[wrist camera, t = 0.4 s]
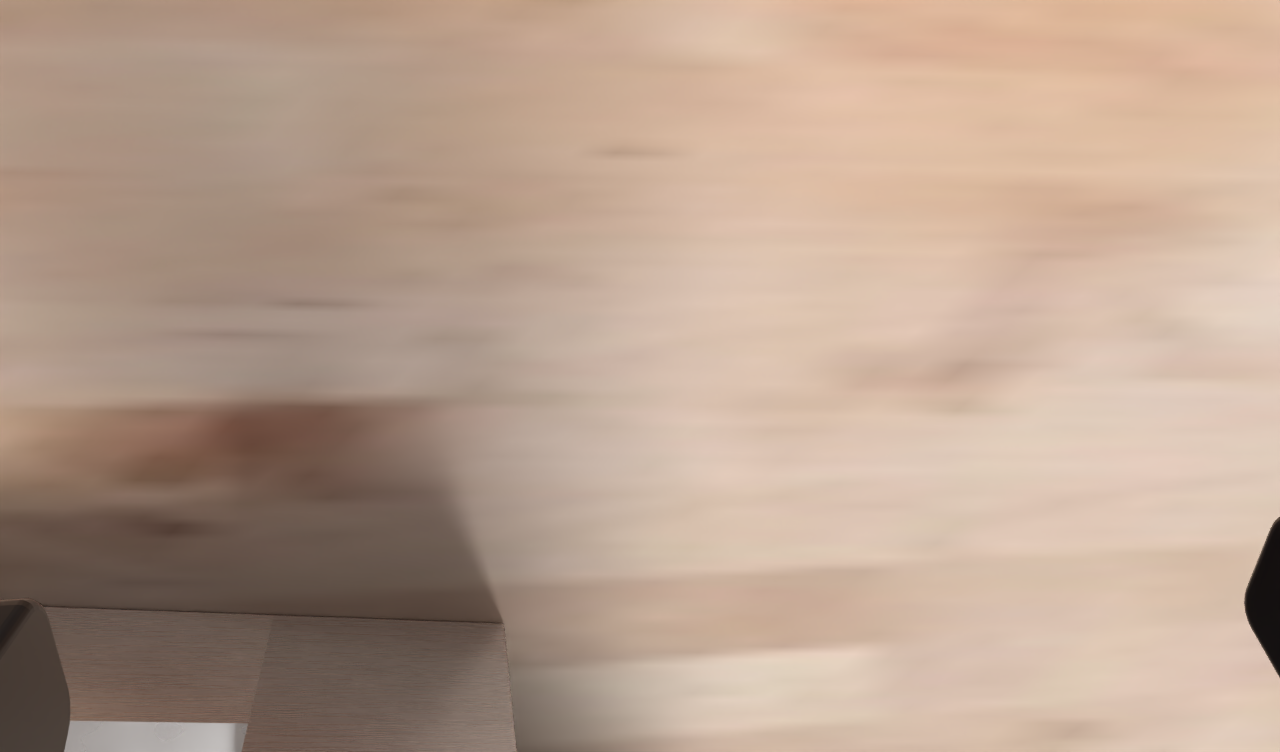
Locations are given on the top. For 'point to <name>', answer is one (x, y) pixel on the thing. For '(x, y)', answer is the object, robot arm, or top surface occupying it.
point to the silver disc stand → (281, 683)
